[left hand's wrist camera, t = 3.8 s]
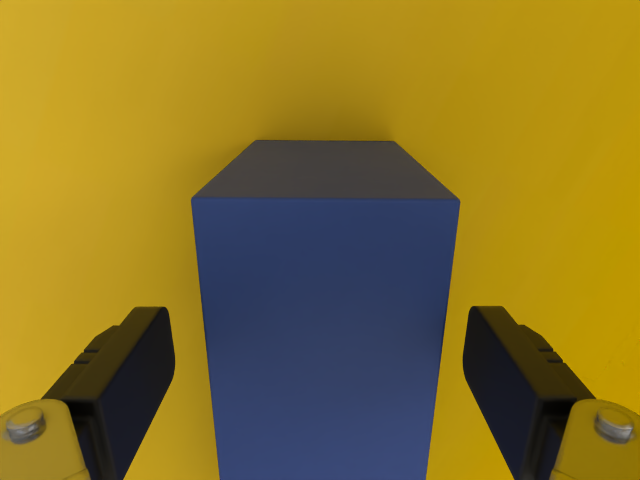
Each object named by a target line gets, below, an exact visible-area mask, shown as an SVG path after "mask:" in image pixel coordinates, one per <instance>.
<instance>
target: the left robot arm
mask: <svg viewBox="0 0 640 480" xmlns="http://www.w3.org/2000/svg"><path fill="white" fill-rule="evenodd" d="M174 370H175V353H174V346H173V339H172V332H171V325H170V318H169V313H168V310H167V308H166V307H135V308H134V309H133V310H132V311H131V312H130V313H129V315H128V316H127V317H126V318H125V319H124V321H123V322H122V323H121V324H120V326H112V327H110V328H109V329H107V330H106V331H104V332H102V333H101V334H99V335H98V336H96V337H95V338H94V339H93V340H92V341H91V343H90V344H89V345H88V346H87V347H86V348H85V349H84V353H81V354H80V355H79V356H78V357H77V358H76V360H75V361H74V364H71V365H70V366H69V368H68V369H67V370H66V371H65V372H64V373H63V374H62V376H61V377H60V378H59V379H58V380H57V381H56V382H55V384H54V385H53V386H52V387H51V388H50V389H49V390H48V392H47V393H46V394H45V395H44V396H43V397H42V398H41V400H35V401H31V402H28V403H24V404H22V405H19V406H17V407H15V408H13V409H11V410H9V411H7V412H5V413H4V414H2V415H1V416H0V480H123V479H124V477H125V475H126V473H127V471H128V469H129V467H130V465H131V463H132V461H133V459H134V456H135V454H136V452H137V450H138V448H139V446H140V444H141V442H142V440H143V438H144V436H145V434H146V432H147V430H148V428H149V426H150V424H151V422H152V420H153V418H154V416H155V414H156V412H157V410H158V408H159V406H160V404H161V402H162V400H163V398H164V396H165V394H166V392H167V390H168V388H169V386H170V384H171V381H172V379H173V375H174ZM463 370H464V375H465V379H466V381H467V383H468V385H469V387H470V389H471V391H472V393H473V395H474V398H475V400H476V402H477V404H478V406H479V408H480V410H481V412H482V414H483V416H484V418H485V420H486V422H487V424H488V426H489V428H490V430H491V432H492V434H493V436H494V439H495V441H496V443H497V445H498V447H499V449H500V451H501V453H502V455H503V457H504V459H505V461H506V463H507V465H508V467H509V469H510V471H511V473H512V475H513V478H514V480H640V416H639V415H638V414H636V413H635V412H633V411H631V410H629V409H627V408H625V407H623V406H621V405H618V404H616V403H612V402H609V401H605V400H599V399H596V398H595V397H594V396H593V394H592V393H591V392H590V391H589V390H588V389H587V387H586V386H585V385H584V384H583V383H582V382H581V381H580V379H579V378H578V377H577V376H576V375H575V374H574V373H573V371H572V370H571V369H570V368H569V367H568V366H567V364H566V363H563V360H562V359H561V358H560V356H559V355H558V354H557V353H556V352H553V348H552V347H551V346H550V345H549V344H548V343H547V341H546V340H545V339H544V338H543V337H542V336H541V335H539V334H538V333H536V332H535V331H533V330H531V329H530V328H528V327H527V326H525V325H518V324H517V323H516V322H515V321H514V319H513V318H512V317H511V316H510V315H509V313H508V312H507V311H506V310H505V308H504V307H502V306H472V307H471V309H470V311H469V315H468V322H467V329H466V337H465V344H464V351H463Z"/></svg>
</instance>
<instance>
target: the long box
mask: <svg viewBox="0 0 640 480" xmlns="http://www.w3.org/2000/svg"><path fill="white" fill-rule="evenodd" d="M191 205H192V215H193V224H194V234H195V244H196V253H197V263H198V273H199V282H200V292H201V302H202V311H203V321H204V331H205V340H206V350H207V360H208V369H209V379H210V389H211V398H212V408H213V418H214V427H215V437H216V447H217V456H218V466H219V476H220V480H426V473H427V465H428V457H429V449H430V441H431V433H432V425H433V417H434V409H435V401H436V393H437V385H438V377H439V369H440V361H441V353H442V345H443V337H444V329H445V321H446V313H447V305H448V297H449V289H450V281H451V273H452V265H453V257H454V249H455V241H456V233H457V225H458V217H459V209H460V200H459V199H458V198H457V197H456V196H455V195H454V194H453V193H452V192H450V191H449V190H448V189H447V188H446V187H445V186H444V185H443V184H442V183H440V182H439V181H438V180H437V179H436V178H435V177H434V176H433V175H431V174H430V173H429V172H428V171H427V170H426V169H425V168H424V167H423V166H421V165H420V164H419V163H418V162H417V161H416V160H415V159H414V158H413V157H411V156H410V155H409V154H408V153H407V152H406V151H405V150H404V149H402V148H401V147H400V146H399V145H398V144H397V143H396V142H394V141H292V140H256V141H254V142H253V143H252V144H251V145H250V146H248V147H247V148H246V149H245V150H244V151H243V152H242V153H241V154H240V155H238V156H237V157H236V158H235V159H234V160H233V161H232V162H231V163H230V164H228V165H227V166H226V167H225V168H224V169H223V170H222V171H221V172H220V173H218V174H217V175H216V176H215V177H214V178H213V179H212V180H211V181H210V182H208V183H207V184H206V185H205V186H204V187H203V188H202V189H201V190H200V191H198V192H197V193H196V194H195V195H194V196H193V197H192V199H191Z"/></svg>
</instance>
